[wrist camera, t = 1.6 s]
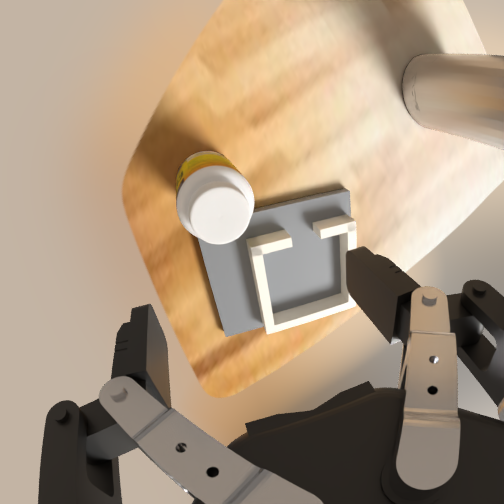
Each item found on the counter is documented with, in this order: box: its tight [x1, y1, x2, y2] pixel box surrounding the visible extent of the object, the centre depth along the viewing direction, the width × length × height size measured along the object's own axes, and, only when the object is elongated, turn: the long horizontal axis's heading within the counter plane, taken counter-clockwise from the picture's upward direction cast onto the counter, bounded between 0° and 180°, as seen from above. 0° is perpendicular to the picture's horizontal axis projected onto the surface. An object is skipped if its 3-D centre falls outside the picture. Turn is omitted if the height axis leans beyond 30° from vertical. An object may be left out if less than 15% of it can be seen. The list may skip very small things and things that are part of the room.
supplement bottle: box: [176, 151, 254, 244], centre depth 25 cm, size 6×6×10 cm
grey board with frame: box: [198, 188, 356, 337], centre depth 34 cm, size 16×14×3 cm
